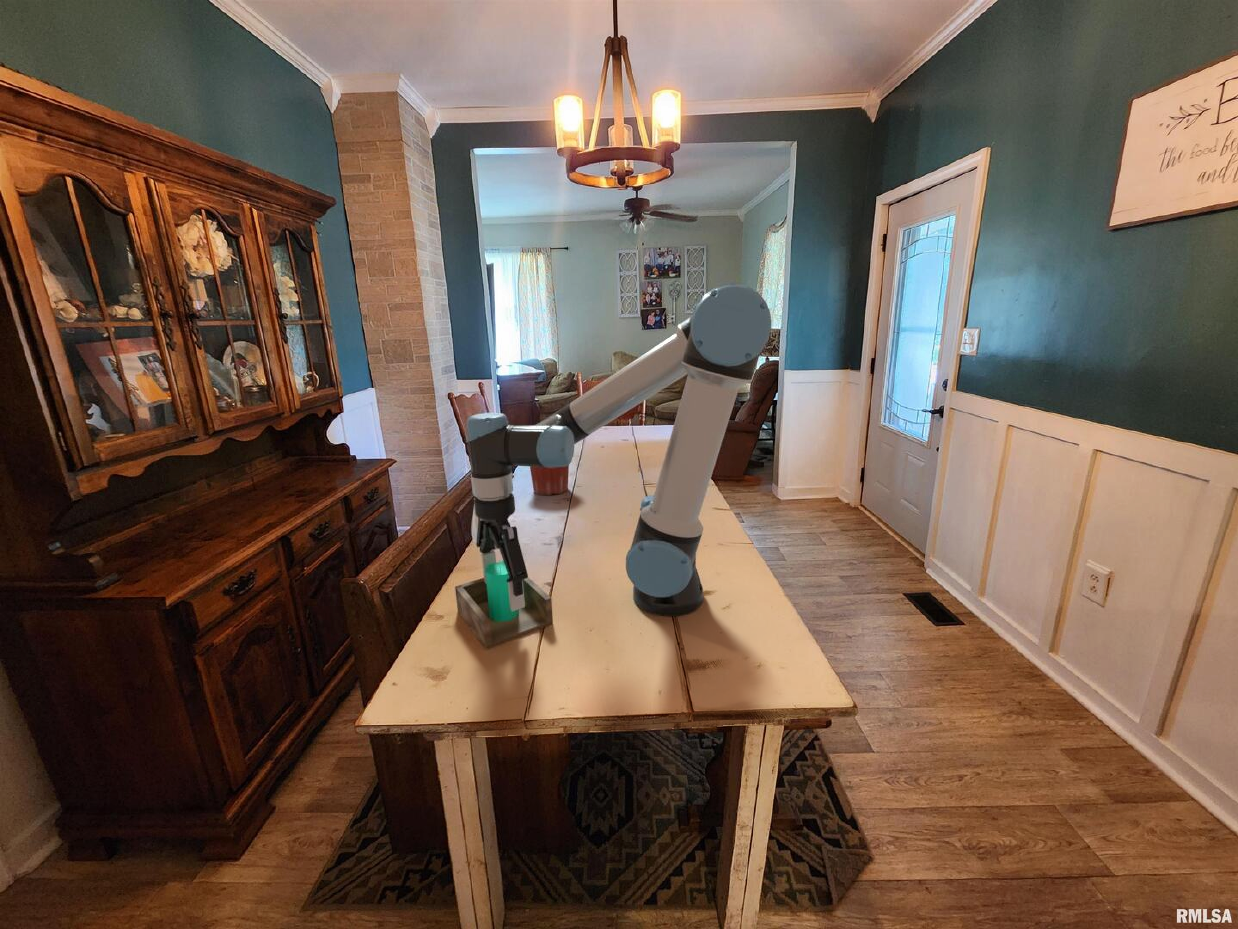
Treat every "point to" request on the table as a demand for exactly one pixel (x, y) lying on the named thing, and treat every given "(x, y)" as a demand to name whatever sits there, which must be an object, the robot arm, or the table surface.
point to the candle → (498, 592)
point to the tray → (494, 632)
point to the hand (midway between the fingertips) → (503, 594)
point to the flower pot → (549, 480)
